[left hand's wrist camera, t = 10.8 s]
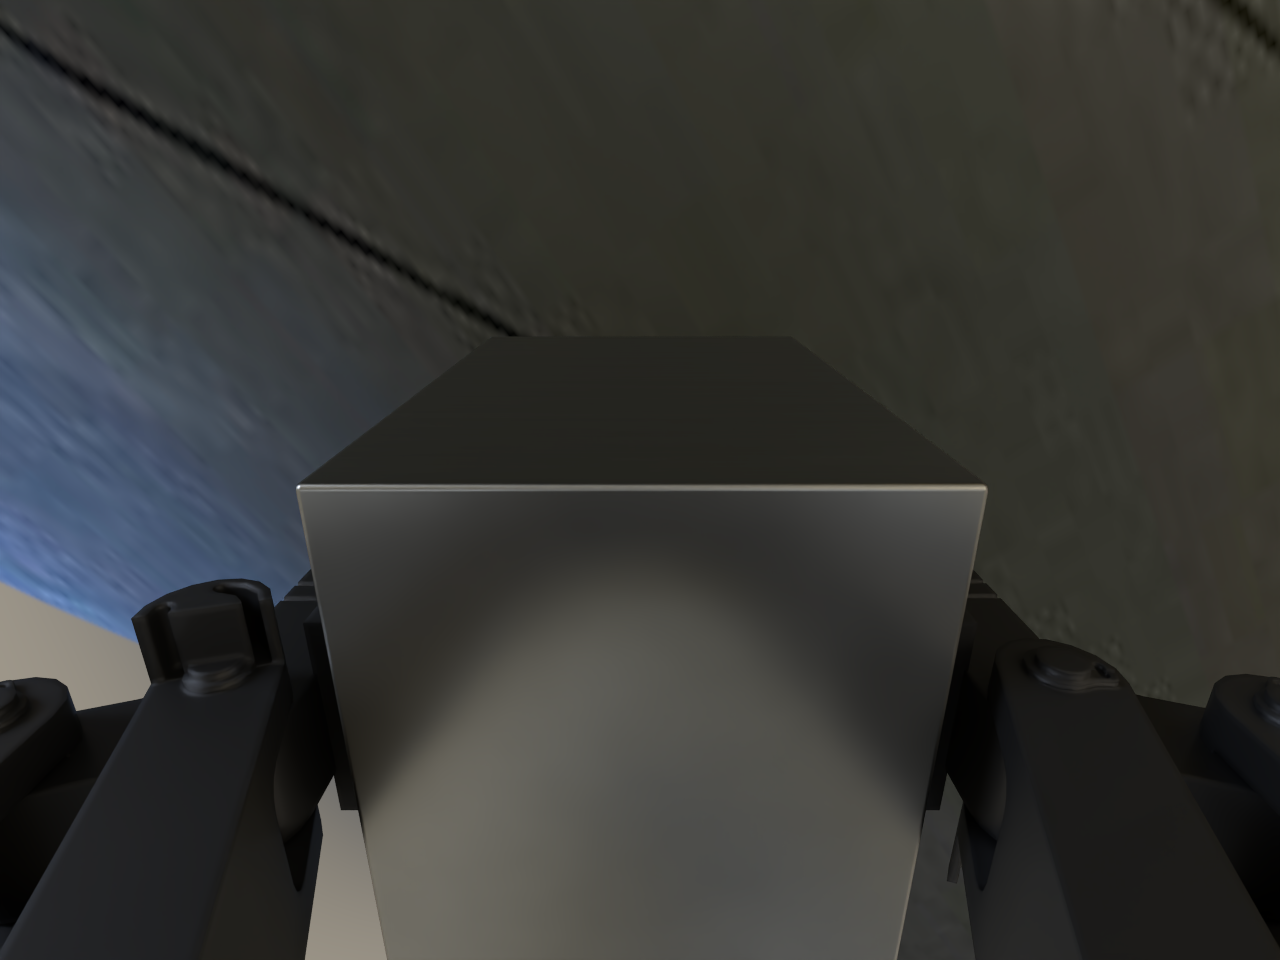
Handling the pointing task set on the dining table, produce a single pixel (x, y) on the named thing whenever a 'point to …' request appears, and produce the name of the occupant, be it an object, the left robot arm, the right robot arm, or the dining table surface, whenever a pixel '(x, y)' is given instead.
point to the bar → (642, 651)
